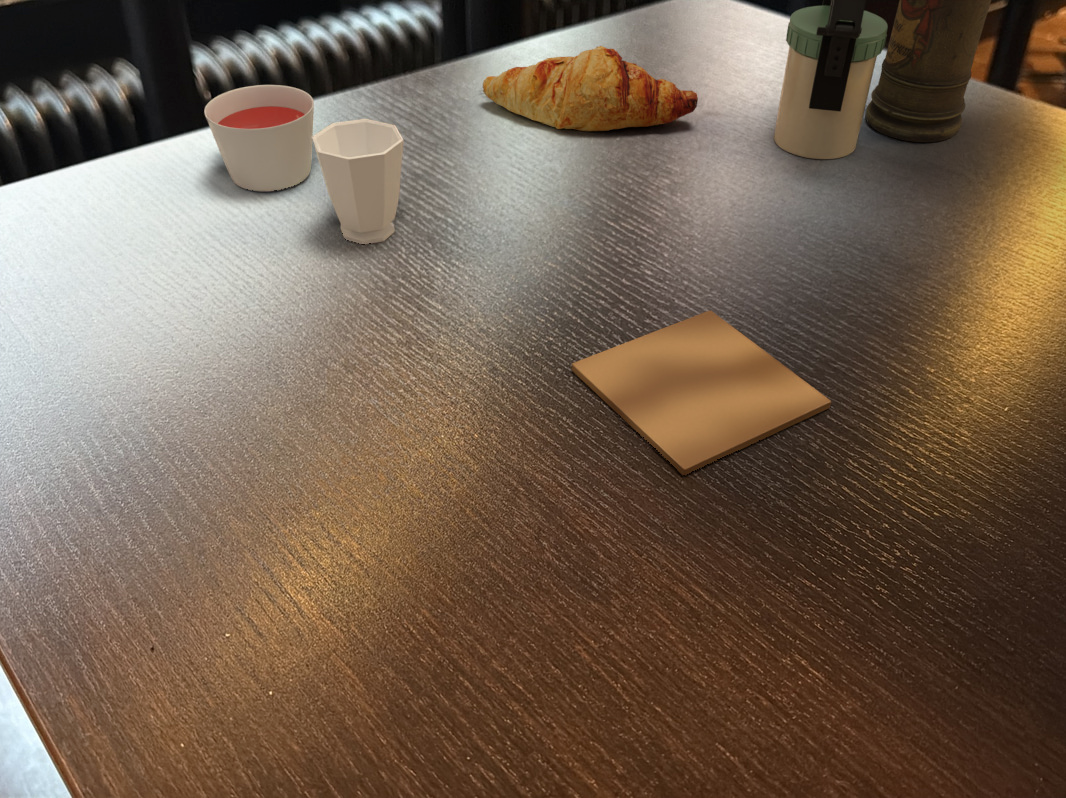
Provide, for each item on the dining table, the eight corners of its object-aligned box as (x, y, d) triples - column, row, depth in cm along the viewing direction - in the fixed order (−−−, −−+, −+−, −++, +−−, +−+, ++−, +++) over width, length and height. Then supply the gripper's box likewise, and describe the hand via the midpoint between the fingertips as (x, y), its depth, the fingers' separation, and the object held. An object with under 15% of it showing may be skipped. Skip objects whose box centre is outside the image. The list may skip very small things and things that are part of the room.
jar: (873, 147, 93) (901, 33, 86) (813, 166, 90) (837, 50, 83) (815, 117, 98) (837, 7, 91) (756, 135, 95) (774, 22, 88)
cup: (315, 251, 78) (300, 156, 73) (340, 190, 86) (329, 100, 81) (404, 255, 78) (396, 159, 73) (422, 193, 86) (415, 103, 80)
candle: (218, 204, 84) (202, 133, 80) (219, 156, 91) (205, 89, 87) (326, 193, 85) (316, 123, 81) (319, 147, 92) (310, 80, 88)
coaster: (830, 408, 64) (832, 401, 64) (683, 476, 59) (684, 469, 59) (709, 316, 72) (710, 309, 72) (571, 370, 67) (571, 363, 67)
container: (940, 103, 101) (995, -89, 89) (974, 143, 94) (1037, -60, 82) (853, 104, 101) (896, -89, 89) (879, 144, 94) (930, -60, 82)
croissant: (477, 148, 100) (463, 95, 93) (496, 68, 104) (485, 11, 96) (690, 166, 96) (693, 112, 89) (702, 83, 100) (706, 24, 93)
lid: (903, 50, 87) (909, 27, 86) (834, 69, 84) (839, 45, 82) (833, 21, 93) (838, -1, 91) (766, 38, 89) (769, 15, 88)
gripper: (946, -170, 68) (871, 142, 82) (924, -219, 83) (864, 50, 98) (833, -176, 69) (778, 133, 83) (832, -223, 85) (786, 43, 99)
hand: (825, 88), depth 91 cm, fingers closed on lid, 8 cm apart
